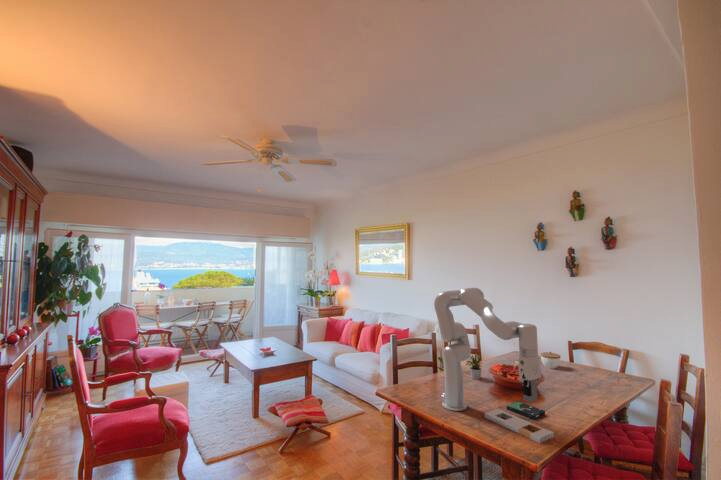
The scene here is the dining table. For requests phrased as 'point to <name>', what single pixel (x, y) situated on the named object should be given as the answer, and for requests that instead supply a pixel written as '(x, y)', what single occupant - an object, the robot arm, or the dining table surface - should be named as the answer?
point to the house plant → (475, 367)
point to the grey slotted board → (519, 425)
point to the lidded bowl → (550, 360)
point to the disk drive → (525, 410)
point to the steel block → (532, 392)
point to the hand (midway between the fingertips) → (530, 393)
